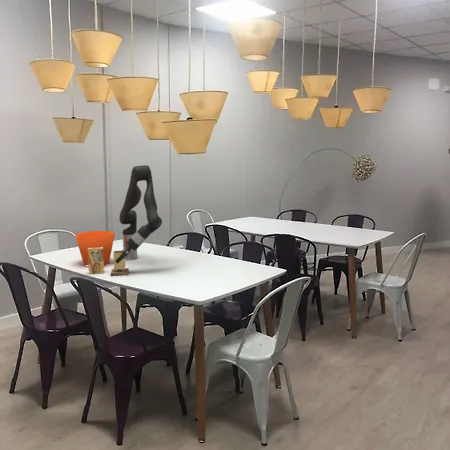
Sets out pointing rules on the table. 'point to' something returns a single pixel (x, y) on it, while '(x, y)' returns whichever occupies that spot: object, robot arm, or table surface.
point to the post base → (119, 272)
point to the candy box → (95, 260)
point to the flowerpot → (95, 243)
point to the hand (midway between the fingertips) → (116, 261)
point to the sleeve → (121, 264)
